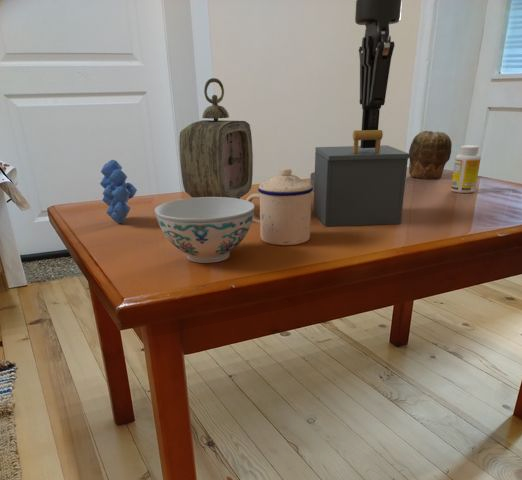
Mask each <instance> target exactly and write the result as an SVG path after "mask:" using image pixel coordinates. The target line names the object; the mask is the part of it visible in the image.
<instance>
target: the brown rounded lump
mask: <svg viewBox="0 0 522 480" xmlns="http://www.w3.org/2000/svg"><path fill="white" fill-rule="evenodd" d="M452 145H453V143H452V140H451V137H450V136H449V135H448V134H447V133H446V132H443V131H433V130H422V131H420V132H419V133H418V134H416V135H415V136H414V137H413V139H412V141H411V143H410V146H409V149H408V153H409V154H410V158H408V160H409V163H408V173H409V175H410V177H411V178H417V179H422V180H423V179H424V180H435V179H434V178H437V179H441V177H442V176H443V173H444V169H445V166H446V164H447V163H448V162H449V161H450V158H451V154H452Z"/></svg>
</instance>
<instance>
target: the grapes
mask: <svg viewBox="0 0 522 480" xmlns="http://www.w3.org/2000/svg"><path fill="white" fill-rule="evenodd" d="M122 169H123V166H122V165H121V164H120V163H119V162H118V161H117V160H115V159H111V160H108V162H106V163H104V165H103V166H102V168H101V171H100V173H101V174H102V175H103V178H102V179H101V182H100V183H99V184H100V186H101V187H102V188H103V189H104V190H103V192H102V195H103V197H102V201H103V202H104V203H105V205H107V206H108V208H107V210H106V212H105V213H106V214H107V215H108V216H109V217H110V218H111V219H112V220H113V221H114V222H115V223H116V224H122V223H124V222H125V221H126V219H127V217H128V214H129V213H130V210H131V206H130V205H129V204H128V202H129V200H130V199H133V198H134V197H135V195H136V194H137V192H138V189H137V188H136V187H135V186H134V185H133V184H132V183H130V182H126V181H127V179H128V176H127V175H126V173H125V172H124V171H123V170H122Z"/></svg>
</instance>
